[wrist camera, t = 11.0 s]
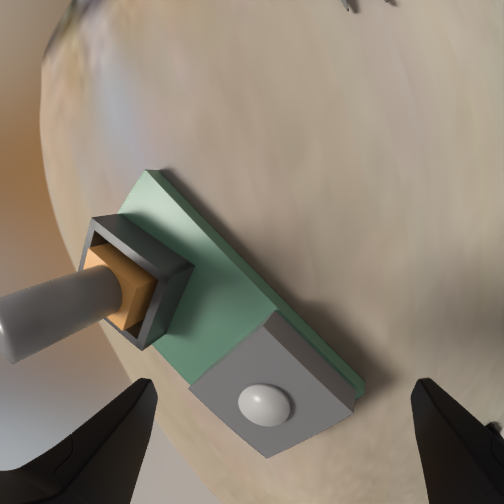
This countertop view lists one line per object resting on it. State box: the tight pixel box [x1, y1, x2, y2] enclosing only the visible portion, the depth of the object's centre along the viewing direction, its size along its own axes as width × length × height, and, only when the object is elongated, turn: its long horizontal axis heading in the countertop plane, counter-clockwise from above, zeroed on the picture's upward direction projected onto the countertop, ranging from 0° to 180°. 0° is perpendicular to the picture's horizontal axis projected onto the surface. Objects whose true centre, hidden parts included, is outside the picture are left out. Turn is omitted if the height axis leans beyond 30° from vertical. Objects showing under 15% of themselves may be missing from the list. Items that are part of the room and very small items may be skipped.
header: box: [78, 213, 195, 351], centre depth 20 cm, size 7×6×3 cm
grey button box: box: [188, 310, 356, 458], centre depth 18 cm, size 8×8×3 cm
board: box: [117, 169, 365, 400], centre depth 21 cm, size 21×10×2 cm, turn 47°
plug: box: [0, 243, 159, 364], centre depth 16 cm, size 4×4×12 cm
